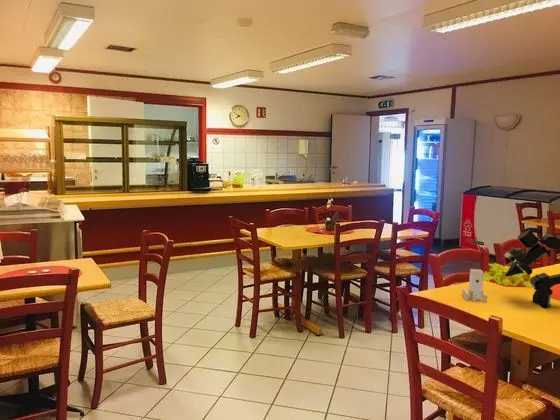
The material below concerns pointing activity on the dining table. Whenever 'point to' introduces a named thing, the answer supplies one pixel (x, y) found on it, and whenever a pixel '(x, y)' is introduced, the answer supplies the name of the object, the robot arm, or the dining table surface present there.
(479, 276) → the pillar on grey plate
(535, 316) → the dining table surface
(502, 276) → the decorative piece
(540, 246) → the robot arm
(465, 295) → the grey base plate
